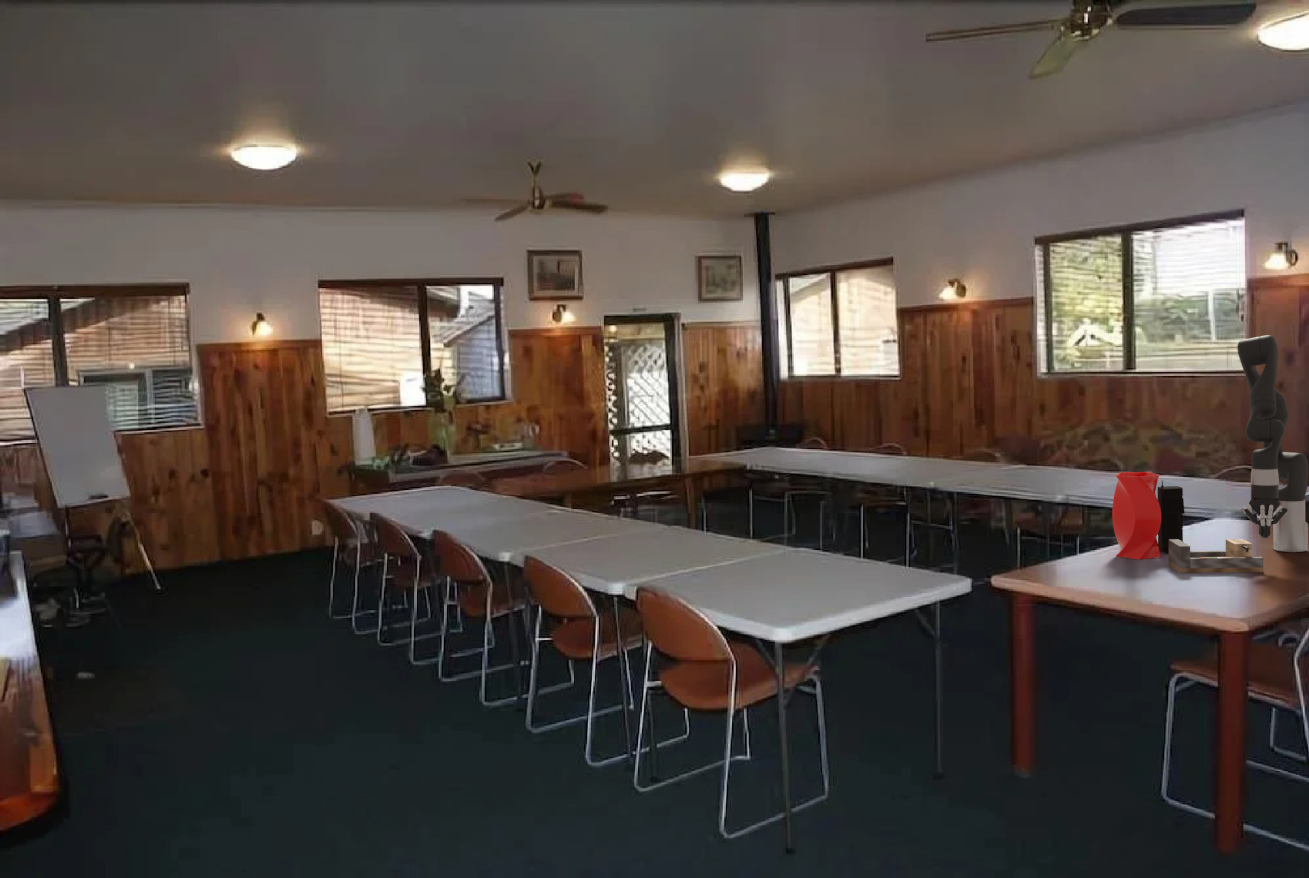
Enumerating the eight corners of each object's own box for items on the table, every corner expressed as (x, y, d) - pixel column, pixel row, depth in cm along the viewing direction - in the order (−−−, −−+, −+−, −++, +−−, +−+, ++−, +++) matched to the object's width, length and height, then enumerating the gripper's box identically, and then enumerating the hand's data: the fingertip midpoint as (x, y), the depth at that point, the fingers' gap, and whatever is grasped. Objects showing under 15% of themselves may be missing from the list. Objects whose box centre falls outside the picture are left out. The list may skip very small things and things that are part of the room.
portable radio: (1180, 549, 363) (1179, 478, 361) (1187, 553, 357) (1186, 480, 355) (1156, 550, 364) (1155, 479, 362) (1163, 553, 358) (1162, 481, 356)
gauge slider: (1242, 559, 334) (1242, 538, 333) (1256, 567, 323) (1256, 545, 322) (1225, 560, 335) (1225, 539, 334) (1238, 567, 324) (1238, 546, 323)
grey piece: (1249, 564, 335) (1248, 538, 335) (1263, 572, 324) (1263, 545, 323) (1168, 565, 340) (1168, 539, 339) (1180, 573, 328) (1179, 546, 328)
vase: (1164, 559, 349) (1163, 476, 347) (1118, 559, 352) (1116, 477, 350) (1152, 550, 364) (1151, 471, 362) (1108, 551, 367) (1106, 472, 364)
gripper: (1283, 481, 329) (1282, 535, 331) (1237, 481, 332) (1237, 535, 333) (1292, 484, 322) (1292, 539, 323) (1245, 484, 325) (1245, 539, 326)
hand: (1264, 537), depth 328 cm, fingers closed
